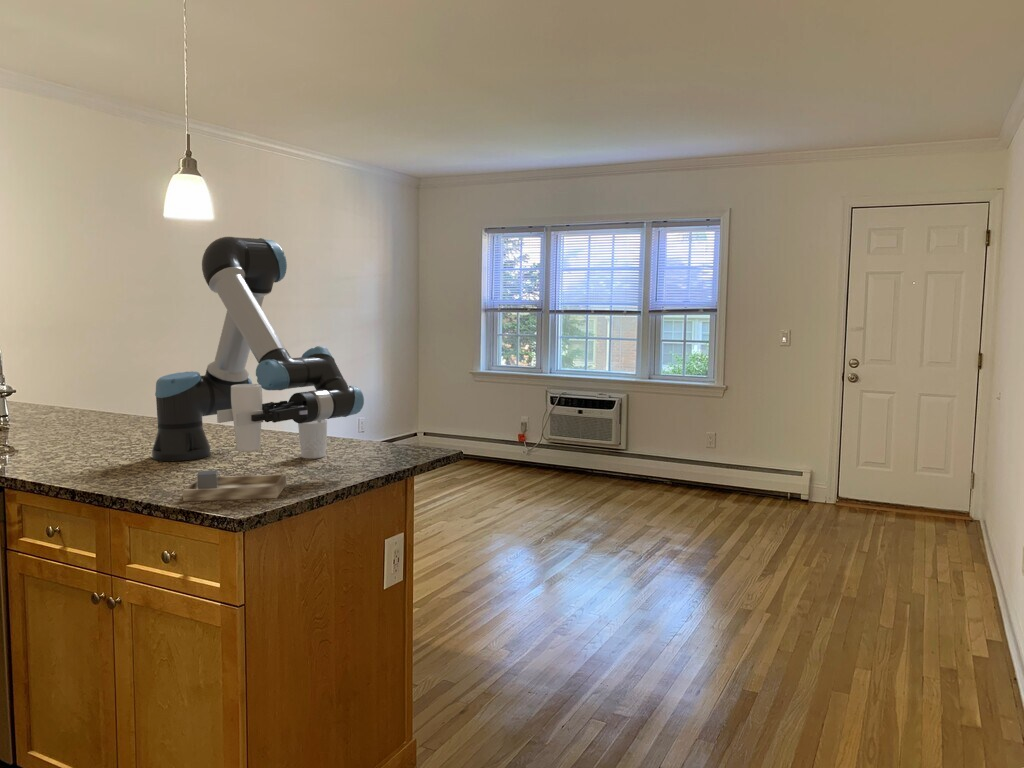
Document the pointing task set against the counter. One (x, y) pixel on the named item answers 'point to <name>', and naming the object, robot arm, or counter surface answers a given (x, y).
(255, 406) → the drinking glass
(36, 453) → the counter surface
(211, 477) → the cube
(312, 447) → the white cup
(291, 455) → the counter surface
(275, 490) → the tray
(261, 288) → the robot arm
